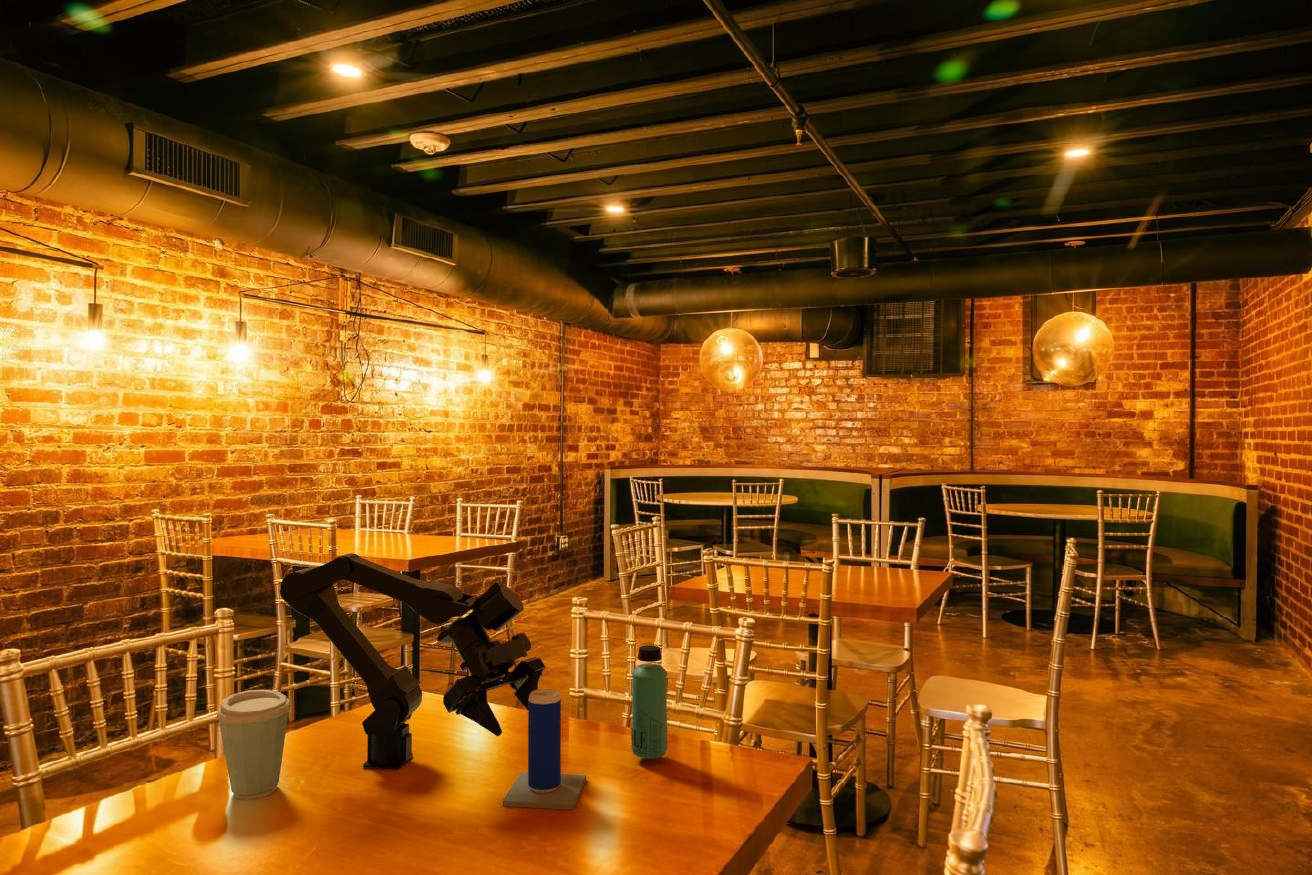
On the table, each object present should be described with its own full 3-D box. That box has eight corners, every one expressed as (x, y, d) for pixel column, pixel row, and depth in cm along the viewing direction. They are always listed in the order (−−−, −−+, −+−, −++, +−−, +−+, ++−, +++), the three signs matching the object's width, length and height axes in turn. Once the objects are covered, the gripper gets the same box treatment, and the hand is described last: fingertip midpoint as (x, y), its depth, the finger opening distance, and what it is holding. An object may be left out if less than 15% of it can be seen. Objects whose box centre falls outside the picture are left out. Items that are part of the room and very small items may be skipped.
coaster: (502, 805, 125) (502, 800, 125) (521, 776, 136) (521, 772, 136) (573, 809, 124) (573, 804, 124) (586, 779, 135) (586, 775, 135)
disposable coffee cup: (305, 785, 132) (306, 692, 132) (247, 812, 122) (248, 712, 122) (259, 773, 136) (260, 684, 136) (199, 799, 127) (200, 702, 127)
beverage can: (563, 781, 132) (563, 688, 132) (556, 794, 127) (556, 698, 127) (532, 779, 133) (532, 687, 133) (524, 793, 128) (524, 697, 128)
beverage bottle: (672, 755, 145) (673, 643, 146) (660, 769, 139) (661, 652, 139) (638, 751, 148) (639, 640, 148) (624, 764, 141) (625, 649, 141)
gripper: (456, 629, 129) (504, 713, 122) (538, 610, 144) (585, 684, 137) (423, 670, 133) (467, 754, 127) (506, 648, 148) (550, 721, 142)
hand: (520, 726), depth 133 cm, fingers open, 9 cm apart
